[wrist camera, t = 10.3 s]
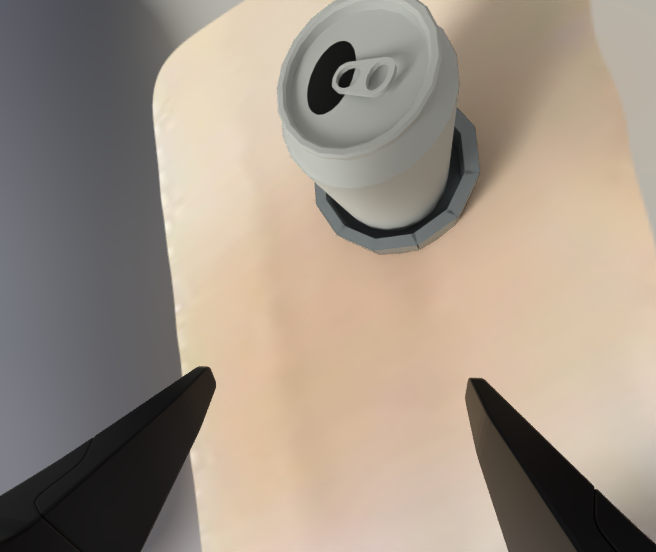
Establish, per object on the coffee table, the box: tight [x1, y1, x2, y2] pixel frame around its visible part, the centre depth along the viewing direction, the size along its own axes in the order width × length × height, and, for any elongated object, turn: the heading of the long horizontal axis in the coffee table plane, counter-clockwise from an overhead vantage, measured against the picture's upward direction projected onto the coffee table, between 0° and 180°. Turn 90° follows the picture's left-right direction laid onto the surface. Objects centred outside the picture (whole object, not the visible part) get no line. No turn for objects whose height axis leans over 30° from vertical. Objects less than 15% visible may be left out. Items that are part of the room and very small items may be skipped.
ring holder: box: [315, 108, 480, 255], centre depth 20 cm, size 11×11×3 cm
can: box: [277, 0, 459, 232], centre depth 16 cm, size 8×8×12 cm
